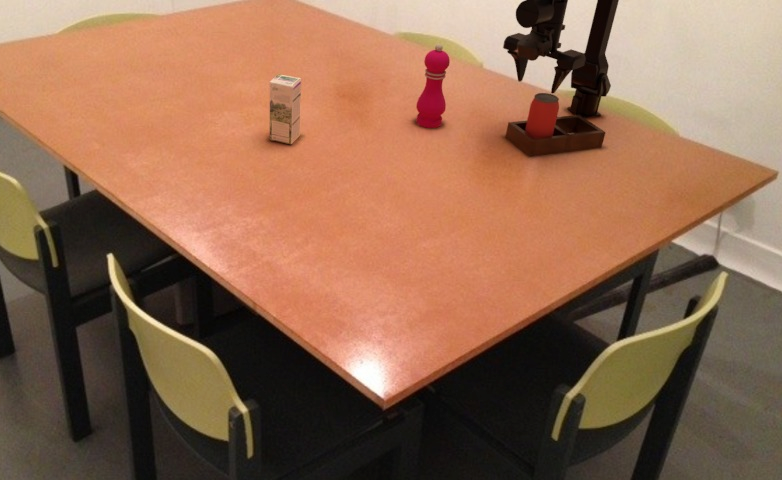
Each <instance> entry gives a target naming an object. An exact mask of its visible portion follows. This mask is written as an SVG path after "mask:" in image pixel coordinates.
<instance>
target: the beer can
mask: <svg viewBox="0 0 782 480" xmlns="http://www.w3.org/2000/svg"><path fill="white" fill-rule="evenodd" d="M559 101H560V98H559V97H558V96H557V95H555V94H552V93H548V92H539V93H536V94H535V95H534V97H533V99H532V100H531V103H530V106H529V109H528V116H527V124H526V129H525V132H526V133H528V134H529V135H530V136H532V137H533V138H542V137H551V136H553V132H554V128H555V124H556V119H557V117H558V116H559V111H560V103H559Z"/></svg>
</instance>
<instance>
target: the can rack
mask: <svg viewBox="0 0 782 480" xmlns="http://www.w3.org/2000/svg"><path fill="white" fill-rule="evenodd" d="M526 124H527V120H518V121H508V122H507V128H506V131H505V139H507V140H508V141H509V142H510V143H511V144H513V145H514V146H515V147H517V148H518V149H519V150H520V151H522V152H523V153H524V154H525V155H527V156H528V157H536V156H544V155H552V154H559V153H560V154H561V153H567V152H576V151H583V150H590V149H599V148H602V147H603V144H604V141H605V136H606V133H607V132H606V131H605V130H603V129H601V128H600V127H598V126H597V125H596V124H594V123H593V122H591V121H590V120H588V119H586V118H583V117H582V116H580V115H575V114H572V115H563V116H557V119H556V124H555V128H554V132H553V136H551V137H542V138H533V137H532V136H530V135H529V134H528V133H526V132H525V129H526Z"/></svg>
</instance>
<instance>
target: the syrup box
mask: <svg viewBox="0 0 782 480" xmlns="http://www.w3.org/2000/svg"><path fill="white" fill-rule="evenodd" d="M301 101H302V78H301V77H296V76H290V75H286V74H280V73H279V74H277V75H275V76H274V77H273V78H271V80H270V81H269V141H272V142H277V143H281V144H282V143H283V144H288V145H292V144H293V143H295V142H296V141H297V140H298V138H300V136H301Z"/></svg>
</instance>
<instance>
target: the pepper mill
mask: <svg viewBox="0 0 782 480" xmlns="http://www.w3.org/2000/svg"><path fill="white" fill-rule="evenodd" d="M450 60H451V59H450V56H449V54H448V53H447V52H446V51H444V50H443V45H442V44H441V43H437V44H435V47H434V49H432V50H430V51H429V52H427V53H426V55H425V57H424V66H425V68H426V69H425V70H424V72H425V73H424V76H425V77H426V80H425V81H426V82H425V86H424V88H423V90H422V92H421V94H420V95H419V97H418V98H417V101H416V110H417V112H418V113H417V115H416V124H418V125H419V126H420V127H422V128H427V129H435V128H439V127H440V126H441V125H442V122H443V117H442V115H443V114H444V113H445V112H446V108H447V107H446V106H447V105H446V99H445V98H446V97H445V96H444V92H443V81H444V79H445V78H446V76H447V75H446V74H447V71H446V70H447V69H448V68H449V66H450V63H451V61H450Z"/></svg>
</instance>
